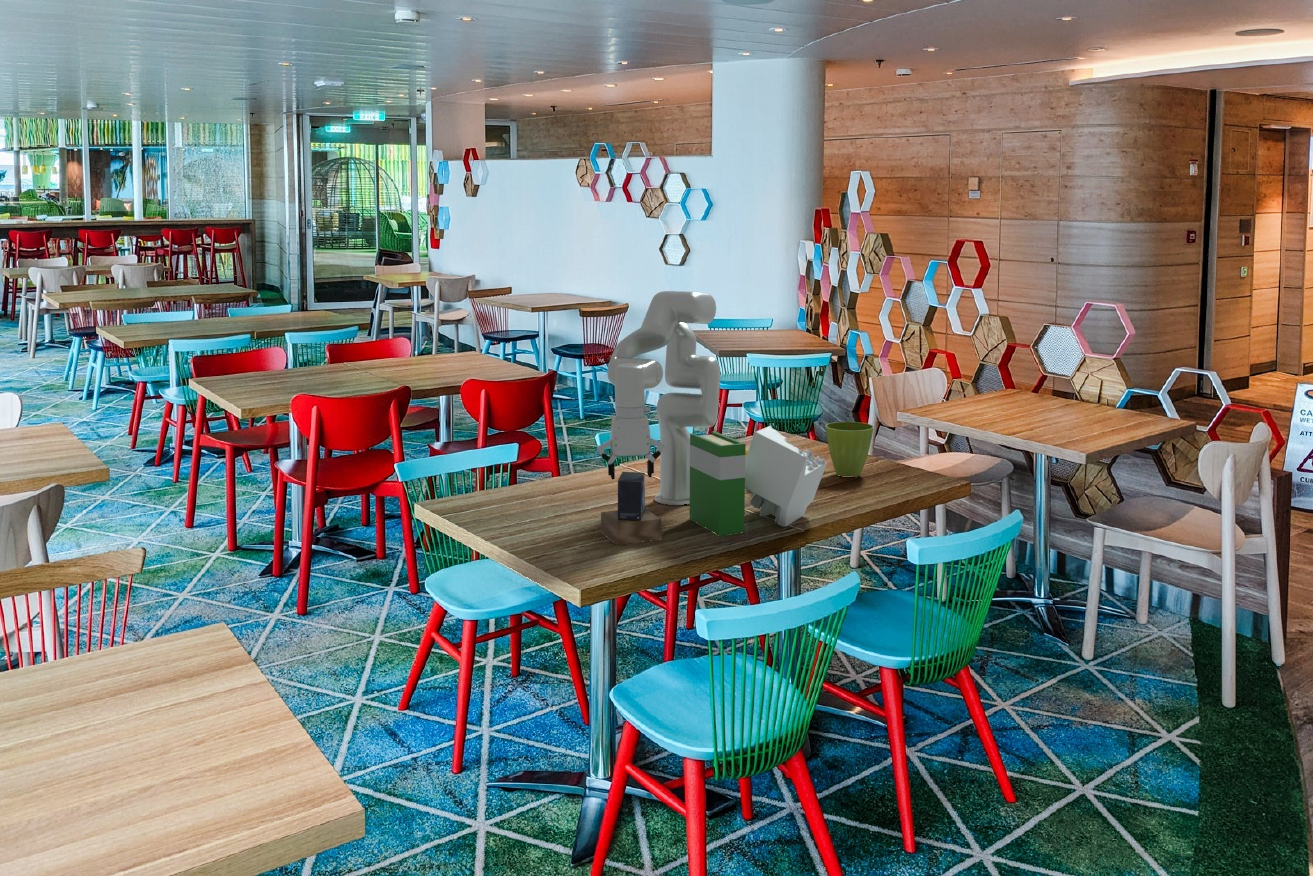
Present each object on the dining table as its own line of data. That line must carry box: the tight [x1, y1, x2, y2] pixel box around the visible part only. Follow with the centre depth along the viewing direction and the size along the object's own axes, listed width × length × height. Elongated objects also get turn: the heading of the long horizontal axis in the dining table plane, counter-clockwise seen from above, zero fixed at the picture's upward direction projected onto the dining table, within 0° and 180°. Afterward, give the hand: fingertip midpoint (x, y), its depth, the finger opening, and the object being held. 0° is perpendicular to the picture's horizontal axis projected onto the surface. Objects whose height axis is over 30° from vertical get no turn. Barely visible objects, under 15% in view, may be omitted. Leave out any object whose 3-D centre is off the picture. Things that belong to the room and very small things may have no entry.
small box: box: [617, 471, 646, 520], centre depth 299 cm, size 11×6×10 cm, turn 175°
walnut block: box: [600, 508, 662, 546], centre depth 300 cm, size 12×12×6 cm
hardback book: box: [689, 430, 747, 537], centre depth 308 cm, size 18×7×24 cm, turn 24°
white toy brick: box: [745, 425, 828, 528], centre depth 314 cm, size 20×16×25 cm
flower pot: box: [825, 421, 874, 477], centre depth 365 cm, size 15×15×16 cm
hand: (631, 477), depth 298 cm, fingers open, 9 cm apart
